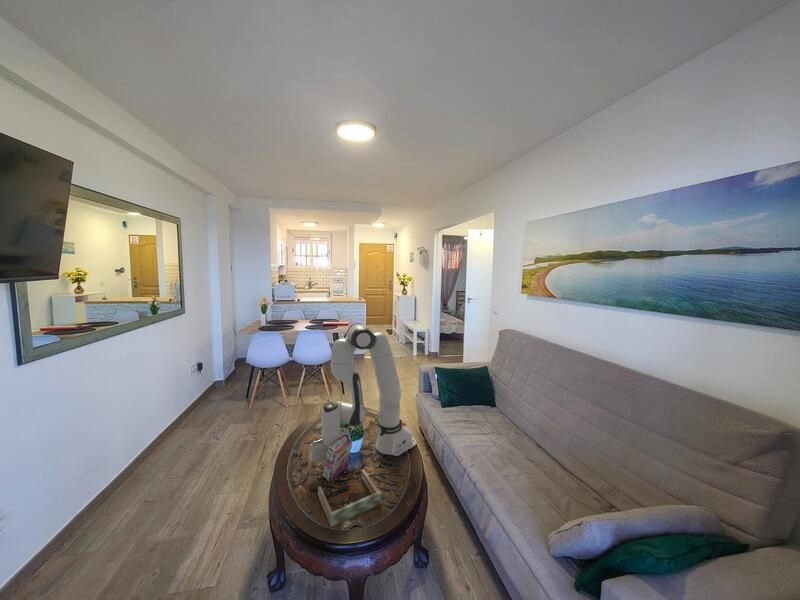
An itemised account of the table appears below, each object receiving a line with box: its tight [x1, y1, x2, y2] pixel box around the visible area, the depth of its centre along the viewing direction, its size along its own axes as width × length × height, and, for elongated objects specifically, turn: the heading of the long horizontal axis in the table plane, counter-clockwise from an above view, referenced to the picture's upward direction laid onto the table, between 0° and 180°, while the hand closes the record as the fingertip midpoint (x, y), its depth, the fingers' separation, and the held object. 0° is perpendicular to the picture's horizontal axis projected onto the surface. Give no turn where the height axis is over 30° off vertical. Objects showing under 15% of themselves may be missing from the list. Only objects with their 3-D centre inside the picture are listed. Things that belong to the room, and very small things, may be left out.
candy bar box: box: [322, 436, 353, 483], centre depth 138 cm, size 11×5×16 cm, turn 146°
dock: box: [317, 469, 382, 527], centre depth 125 cm, size 21×17×5 cm
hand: (331, 462), depth 144 cm, fingers closed
